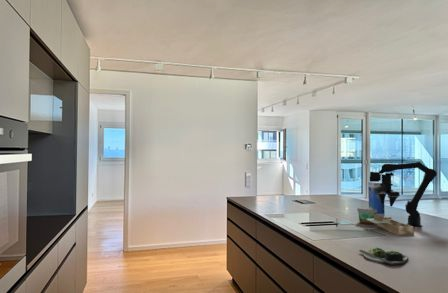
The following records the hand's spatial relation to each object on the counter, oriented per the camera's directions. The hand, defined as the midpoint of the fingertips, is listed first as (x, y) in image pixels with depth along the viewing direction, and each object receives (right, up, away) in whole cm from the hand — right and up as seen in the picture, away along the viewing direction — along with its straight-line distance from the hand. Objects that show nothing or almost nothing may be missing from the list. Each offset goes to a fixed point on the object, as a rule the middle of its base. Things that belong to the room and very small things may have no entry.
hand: (386, 205), depth 206 cm
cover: (-14, -7, -16) cm, 22 cm away
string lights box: (+3, -13, +20) cm, 24 cm away
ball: (-4, -10, -23) cm, 25 cm away
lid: (0, -12, 0) cm, 12 cm away
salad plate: (-37, -11, -69) cm, 79 cm away
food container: (-15, -12, -3) cm, 19 cm away
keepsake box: (-6, -12, -20) cm, 24 cm away
